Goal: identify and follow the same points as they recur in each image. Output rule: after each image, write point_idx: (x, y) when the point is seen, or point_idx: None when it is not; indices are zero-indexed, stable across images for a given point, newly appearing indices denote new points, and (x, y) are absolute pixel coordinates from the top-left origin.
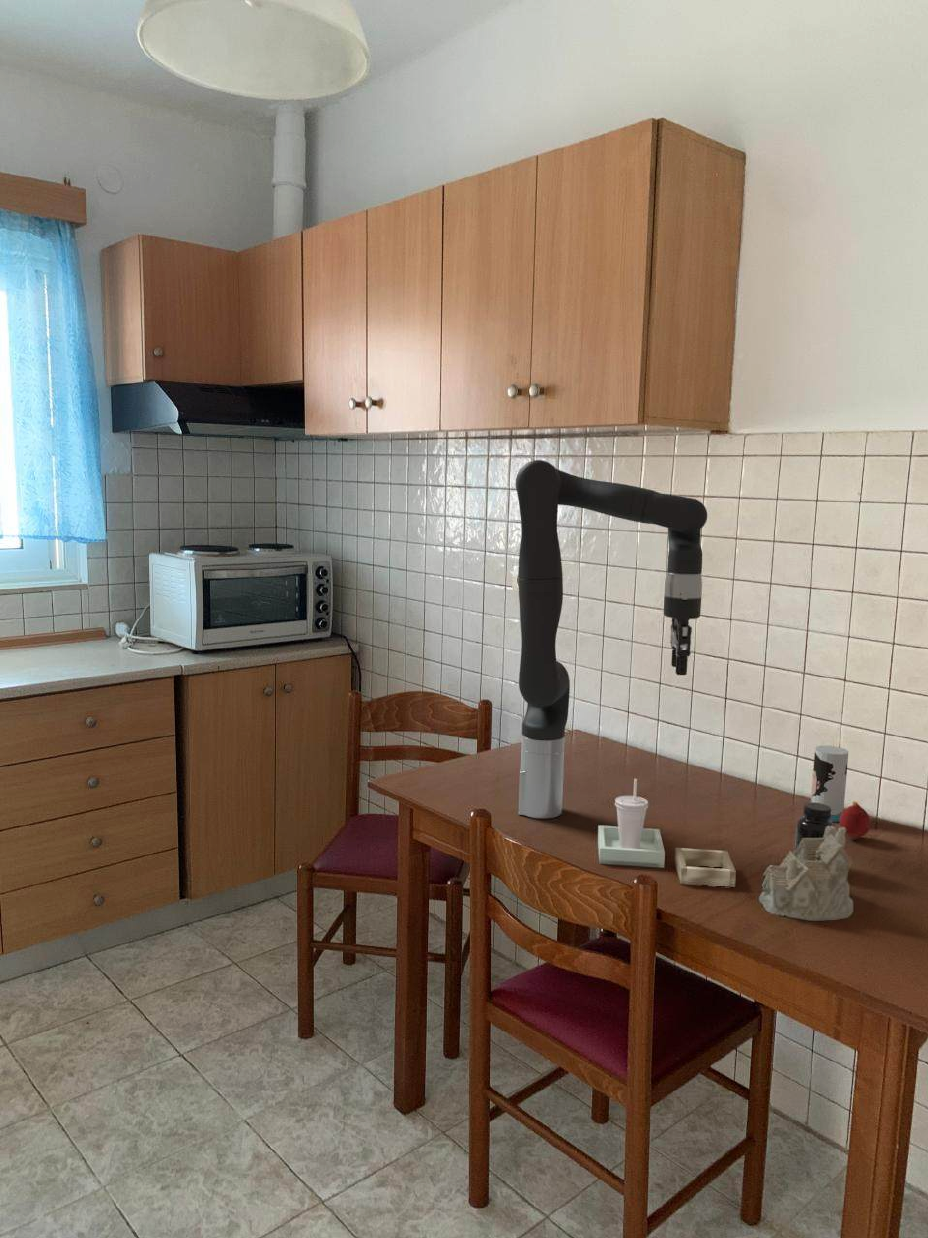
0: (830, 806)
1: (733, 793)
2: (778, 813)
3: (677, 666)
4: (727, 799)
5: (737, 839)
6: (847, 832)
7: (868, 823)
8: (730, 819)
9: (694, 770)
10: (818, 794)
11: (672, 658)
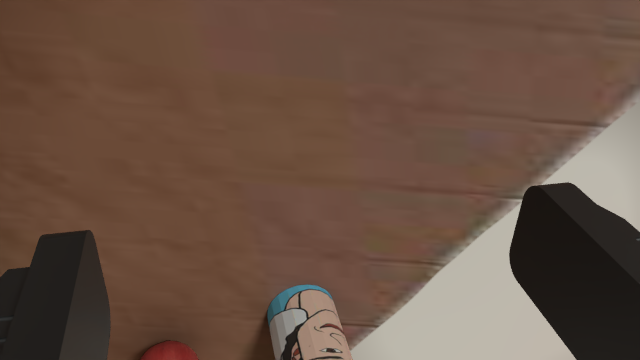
0: (272, 339)
1: (440, 143)
2: (303, 228)
3: (25, 314)
4: (392, 125)
5: (76, 125)
6: (148, 349)
7: None
8: (234, 120)
9: (627, 58)
10: (289, 337)
11: (587, 239)
